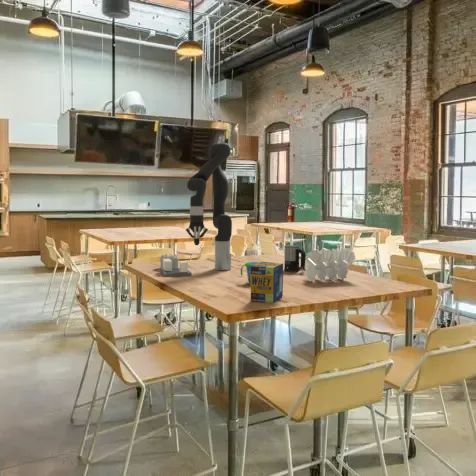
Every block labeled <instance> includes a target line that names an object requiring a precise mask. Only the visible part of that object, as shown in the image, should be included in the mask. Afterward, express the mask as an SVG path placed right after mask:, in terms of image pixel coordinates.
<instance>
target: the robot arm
mask: <svg viewBox="0 0 476 476" xmlns="http://www.w3.org/2000/svg"><path fill="white" fill-rule="evenodd" d="M209 155H210V160H207V162H205V163H204V164H203V165H201V167H200V168H199V170H198V172H197V173H195V174H193V175H192V176H191V177H190V178H189V179H188V181H187V183H186V188H187V189H188V190H189V191H191V192H196V193H195V194H194V195H192V196H190V202H189V203H190V204H189V206H190V207H189V225H188V227H186V228H185V231H186V233H187V234H188V235H189V237H191V238H193V243H194V245H195V246H199V245H200V239H201V238H203V237H204V236H205V235H206V233H207V232H208V231H209V230H208V228H206V227H205V224H204V213H205V212H204V196H205V193H206V188H207V183H206V182H207V181H208V180H209V179H210V177H211V176H212V199H213V200H212V201H213V202H212V203H213V210H212V213H213V214H212V225H213V227H214V228H215V229H217V234H216V235H215V236H214V270H217V271H218V270H219V271H228V270H229V271H230V270H232V254H231V238H232V234H233V233H232V231H233V230H232V229H233V221H232V217H231V216H230V215H228V214H225V213H226V212H225V205H226V200H227V198H228V195H229V180H228V179H227V176H226V175H225V173H224V171H223V169H222V166H221V165H222V163H224V162H225V161H226V160H227V159H228V158H229V157H230V155H231V146H230V145H229V144H228V143H226V142H218V143H212V144H211V146H210V149H209ZM201 232H202V233H201Z"/></svg>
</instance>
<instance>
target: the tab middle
mask: <svg viewBox="0 0 476 476" xmlns="http://www.w3.org/2000/svg"><path fill="white" fill-rule="evenodd" d="M164 270H165V271H172V261H171V260H164Z"/></svg>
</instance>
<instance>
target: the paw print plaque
mask: <svg viewBox="0 0 476 476" xmlns="http://www.w3.org/2000/svg"><path fill="white" fill-rule="evenodd" d="M163 259H170V260H171V261H172V268H179V256H178V255H177V254H172V253H169V254H167V253H166V254H161V255H160V270H161V269H163Z"/></svg>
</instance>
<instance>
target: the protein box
mask: <svg viewBox="0 0 476 476" xmlns="http://www.w3.org/2000/svg"><path fill="white" fill-rule="evenodd" d="M259 262H260V261H259ZM283 286H284V262H269V261H261V262H260V263H258V264H255V265H253V266H251V283H250V302H255V303H256V302H257V303H265V302H266V303H267V304H274V303H276V302H277V301H278V300H280V299H281V298H282V296H283V293H284V290H283V288H284V287H283ZM283 297H284V296H283ZM279 298H280V299H279ZM276 300H277V301H276Z"/></svg>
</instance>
